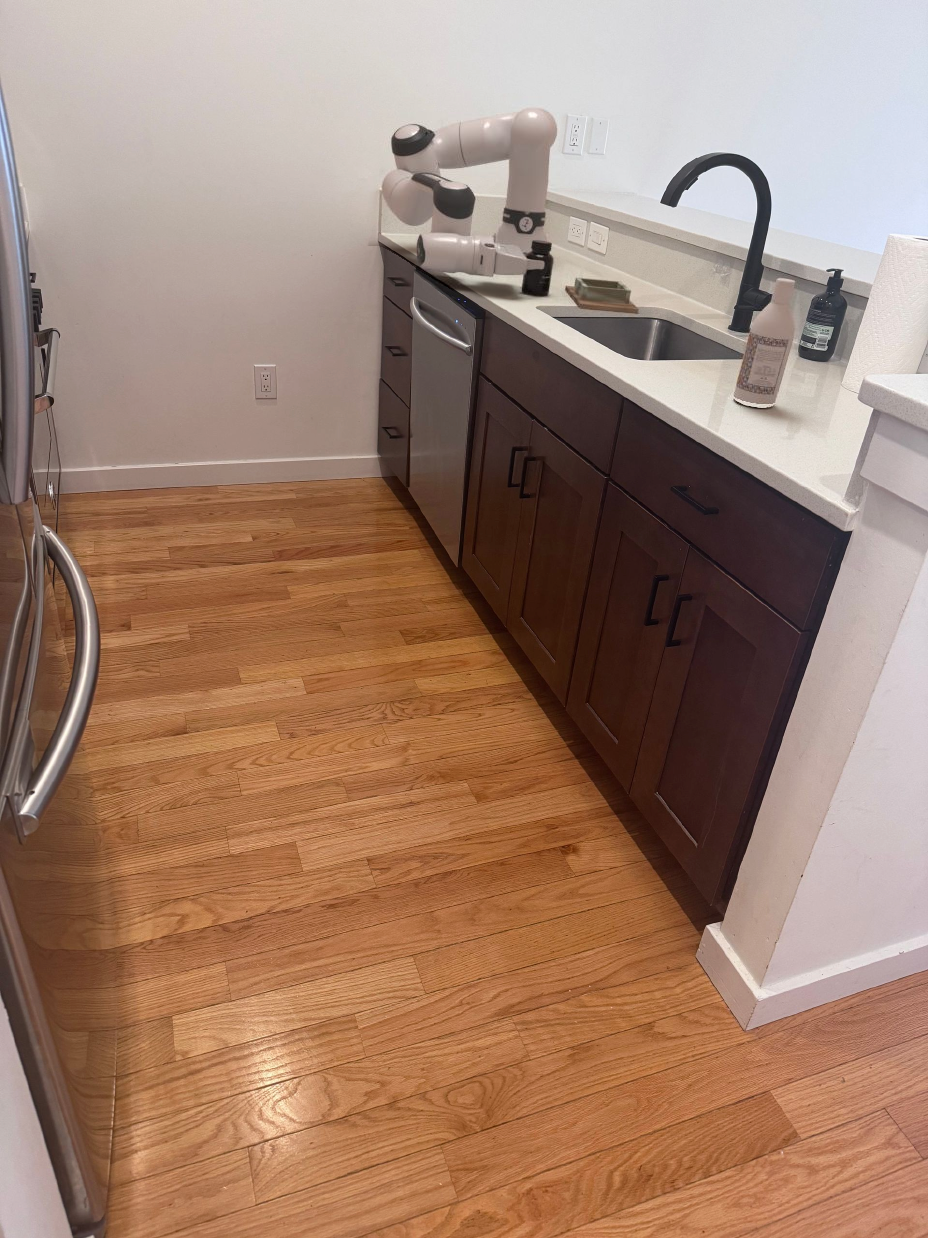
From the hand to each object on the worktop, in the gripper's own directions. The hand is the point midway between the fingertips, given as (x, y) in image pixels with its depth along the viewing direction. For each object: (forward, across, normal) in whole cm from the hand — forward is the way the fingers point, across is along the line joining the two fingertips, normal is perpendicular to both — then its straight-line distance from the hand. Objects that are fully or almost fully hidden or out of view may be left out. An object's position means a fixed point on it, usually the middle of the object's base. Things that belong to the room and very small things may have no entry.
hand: (541, 261), depth 212 cm
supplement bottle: (0, 0, -8) cm, 8 cm away
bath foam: (+26, +81, -8) cm, 86 cm away
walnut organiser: (+15, +2, -8) cm, 17 cm away
